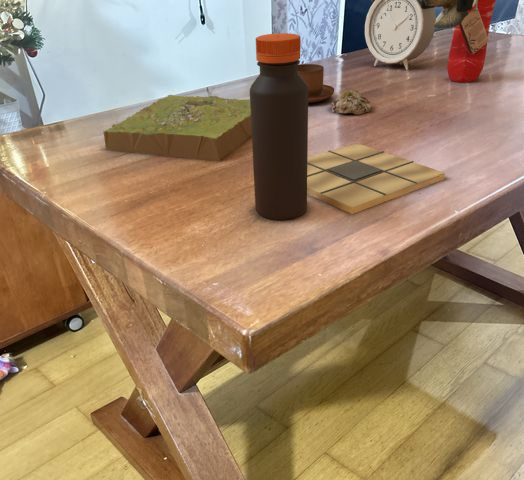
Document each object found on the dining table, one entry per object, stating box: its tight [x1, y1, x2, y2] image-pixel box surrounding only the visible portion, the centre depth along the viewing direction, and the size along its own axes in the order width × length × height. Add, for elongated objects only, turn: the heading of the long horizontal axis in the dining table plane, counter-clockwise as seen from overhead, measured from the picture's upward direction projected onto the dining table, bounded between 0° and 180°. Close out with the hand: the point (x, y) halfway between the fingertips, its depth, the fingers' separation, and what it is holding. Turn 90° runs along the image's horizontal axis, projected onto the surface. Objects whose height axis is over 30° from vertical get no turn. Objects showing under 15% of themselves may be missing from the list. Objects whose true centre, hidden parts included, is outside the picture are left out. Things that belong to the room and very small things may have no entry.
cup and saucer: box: [297, 63, 335, 104], centre depth 113 cm, size 12×12×6 cm
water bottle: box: [446, 0, 497, 83], centre depth 114 cm, size 12×8×25 cm, turn 159°
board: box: [307, 142, 446, 215], centre depth 79 cm, size 18×18×1 cm
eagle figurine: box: [424, 0, 477, 30], centre depth 90 cm, size 8×7×9 cm
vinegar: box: [249, 32, 309, 221], centre depth 65 cm, size 7×7×20 cm
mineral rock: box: [330, 89, 373, 116], centre depth 107 cm, size 11×4×8 cm
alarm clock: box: [364, 0, 437, 71], centre depth 130 cm, size 16×9×22 cm, turn 49°
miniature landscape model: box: [102, 94, 252, 162], centre depth 97 cm, size 22×24×5 cm
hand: (445, 8), depth 90 cm, fingers closed on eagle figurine, 6 cm apart
